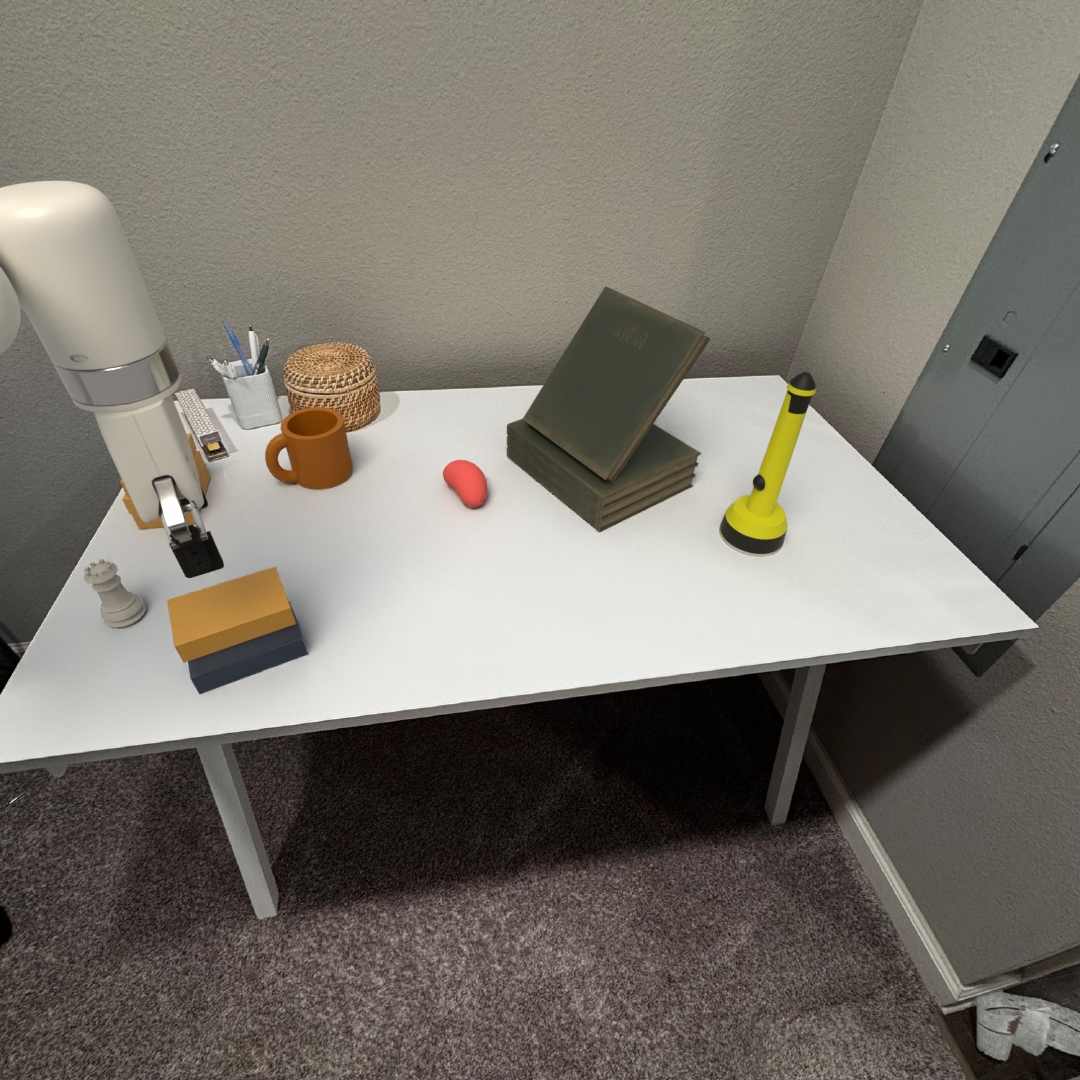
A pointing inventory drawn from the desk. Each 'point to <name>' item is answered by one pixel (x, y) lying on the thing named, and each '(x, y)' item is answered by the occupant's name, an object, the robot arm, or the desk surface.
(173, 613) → the orange tan block
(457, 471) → the red kidney bean
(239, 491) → the desk surface
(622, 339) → the olive book stack
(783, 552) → the desk surface
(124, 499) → the tan block stack
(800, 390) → the flashlight
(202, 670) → the slate books
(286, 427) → the mug
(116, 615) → the rook chess piece
